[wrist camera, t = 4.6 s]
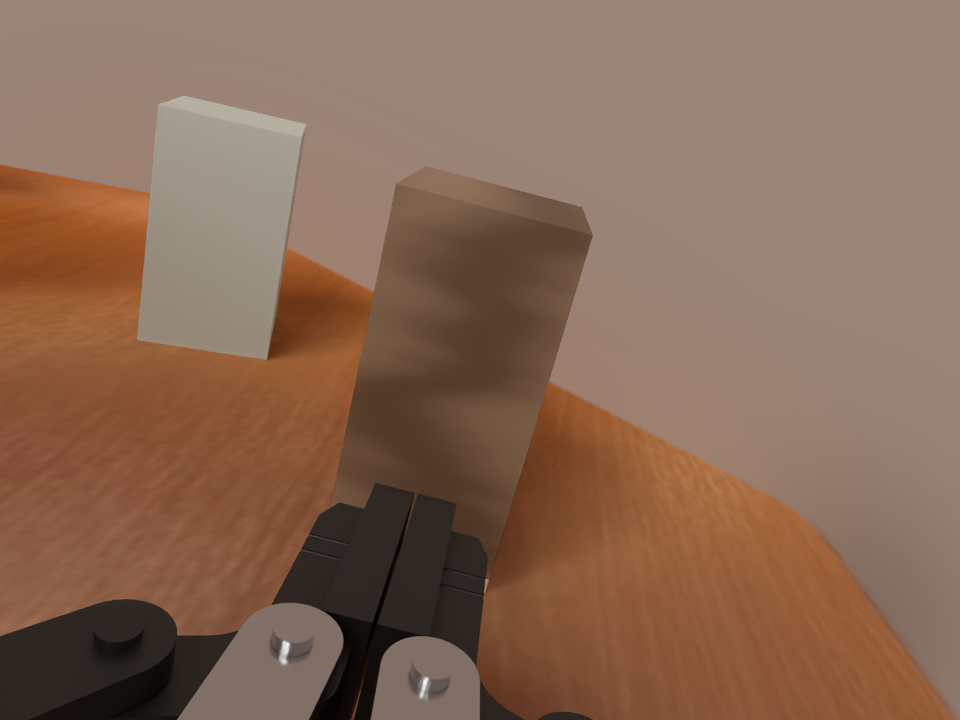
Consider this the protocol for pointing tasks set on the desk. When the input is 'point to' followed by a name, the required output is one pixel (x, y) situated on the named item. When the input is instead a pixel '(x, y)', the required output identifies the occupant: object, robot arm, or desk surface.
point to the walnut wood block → (460, 346)
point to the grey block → (217, 226)
